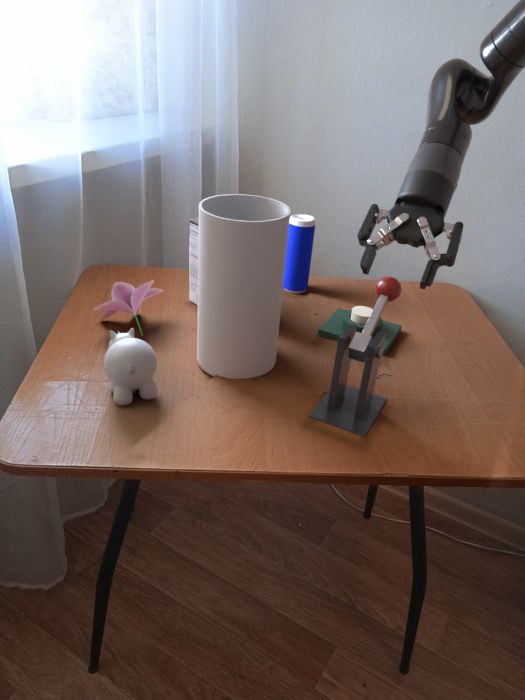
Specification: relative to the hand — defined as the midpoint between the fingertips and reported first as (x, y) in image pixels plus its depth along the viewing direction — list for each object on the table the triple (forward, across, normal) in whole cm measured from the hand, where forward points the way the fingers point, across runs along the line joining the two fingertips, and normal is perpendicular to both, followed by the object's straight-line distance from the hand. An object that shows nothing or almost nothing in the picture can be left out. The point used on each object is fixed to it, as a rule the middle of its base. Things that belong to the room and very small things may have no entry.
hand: (393, 279), depth 80 cm
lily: (+18, -41, +6) cm, 45 cm away
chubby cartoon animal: (+28, -30, -4) cm, 41 cm away
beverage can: (-4, -24, +28) cm, 37 cm away
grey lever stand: (+20, 0, +3) cm, 20 cm away
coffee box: (+6, -34, +18) cm, 39 cm away
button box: (+4, -6, +19) cm, 20 cm away
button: (+2, -6, +16) cm, 18 cm away
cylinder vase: (+18, -20, +6) cm, 28 cm away
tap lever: (+7, 0, -1) cm, 8 cm away
